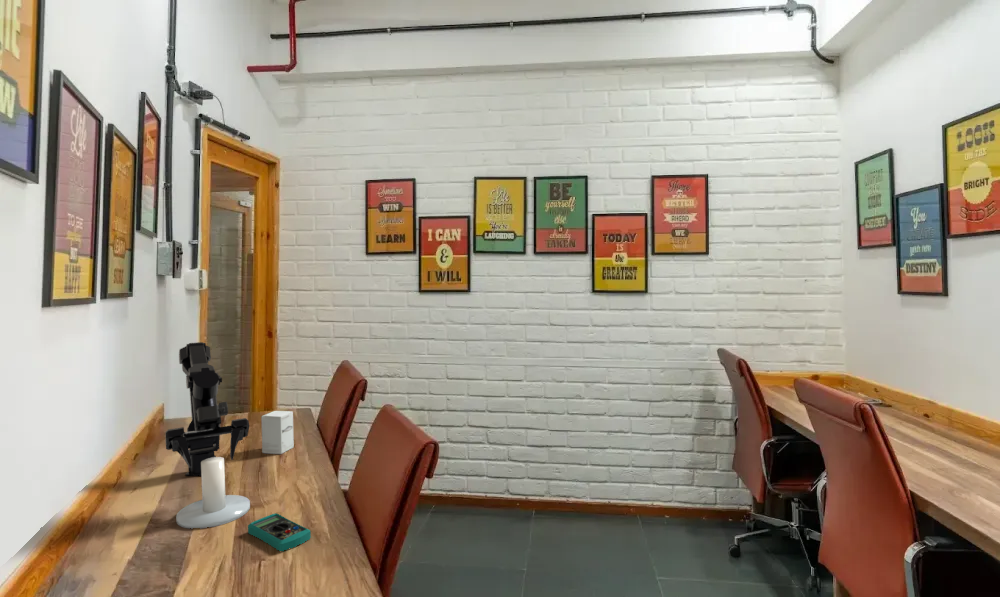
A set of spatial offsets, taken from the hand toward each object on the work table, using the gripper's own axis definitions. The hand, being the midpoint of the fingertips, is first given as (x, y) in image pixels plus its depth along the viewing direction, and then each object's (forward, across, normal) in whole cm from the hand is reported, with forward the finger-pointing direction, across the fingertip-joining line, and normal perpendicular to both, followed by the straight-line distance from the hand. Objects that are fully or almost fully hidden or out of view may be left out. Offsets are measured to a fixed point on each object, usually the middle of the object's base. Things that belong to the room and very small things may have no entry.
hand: (211, 462), depth 132 cm
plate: (+10, 0, +7) cm, 12 cm away
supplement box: (-19, +23, +37) cm, 47 cm away
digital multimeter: (+26, +11, -8) cm, 29 cm away
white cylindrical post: (+9, 0, +6) cm, 11 cm away
